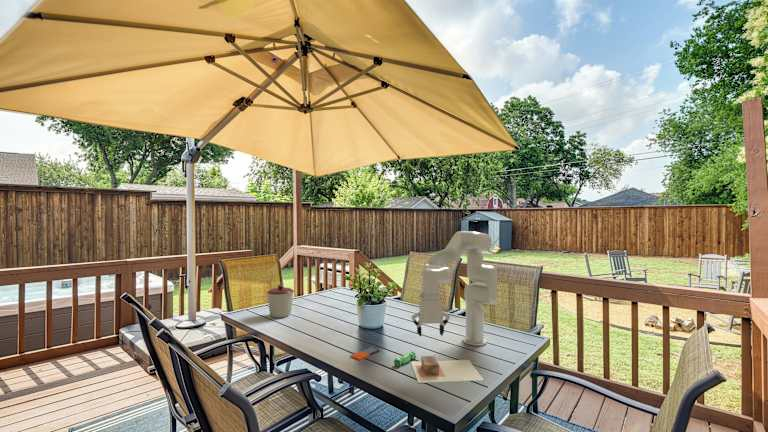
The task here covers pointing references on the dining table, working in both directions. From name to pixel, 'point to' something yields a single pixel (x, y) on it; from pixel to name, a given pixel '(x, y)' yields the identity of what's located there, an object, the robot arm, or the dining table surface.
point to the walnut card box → (429, 365)
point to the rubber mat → (448, 372)
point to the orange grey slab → (364, 353)
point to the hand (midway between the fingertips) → (430, 334)
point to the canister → (280, 301)
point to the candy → (404, 359)
